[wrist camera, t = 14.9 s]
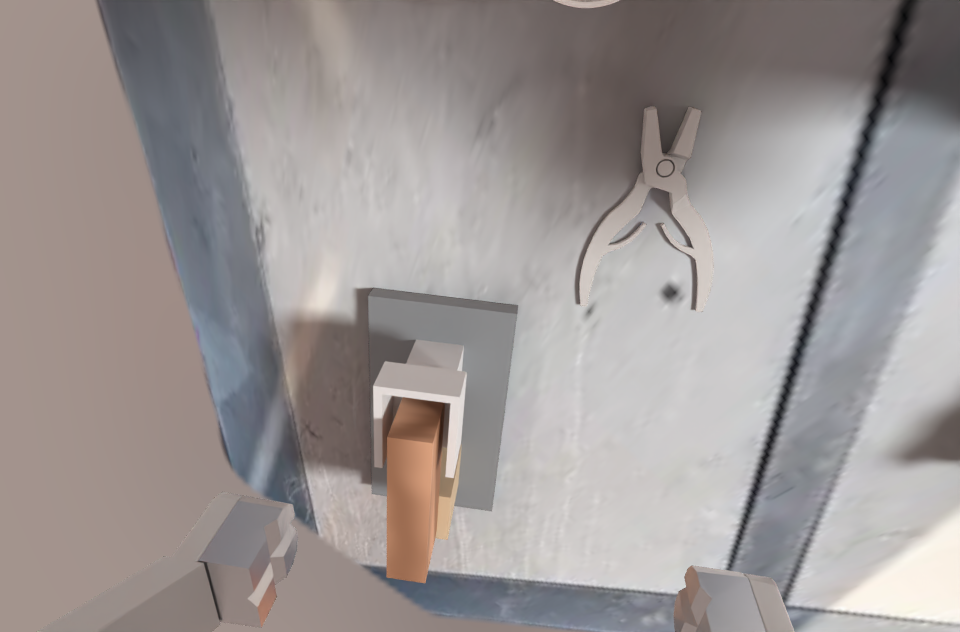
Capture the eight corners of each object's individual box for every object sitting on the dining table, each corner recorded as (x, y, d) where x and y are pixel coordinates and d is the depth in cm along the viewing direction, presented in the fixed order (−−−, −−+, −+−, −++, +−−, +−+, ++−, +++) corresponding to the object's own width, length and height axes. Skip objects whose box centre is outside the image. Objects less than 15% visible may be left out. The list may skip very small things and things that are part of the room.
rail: (445, 397, 40) (432, 443, 36) (436, 530, 47) (425, 583, 42) (404, 391, 40) (387, 436, 36) (401, 525, 47) (386, 577, 42)
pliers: (577, 311, 43) (597, 107, 36) (577, 301, 44) (595, 104, 37) (708, 317, 42) (754, 109, 35) (703, 308, 44) (746, 106, 36)
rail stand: (518, 305, 45) (509, 383, 35) (493, 499, 55) (481, 600, 46) (373, 287, 45) (326, 359, 36) (375, 482, 56) (340, 578, 46)
